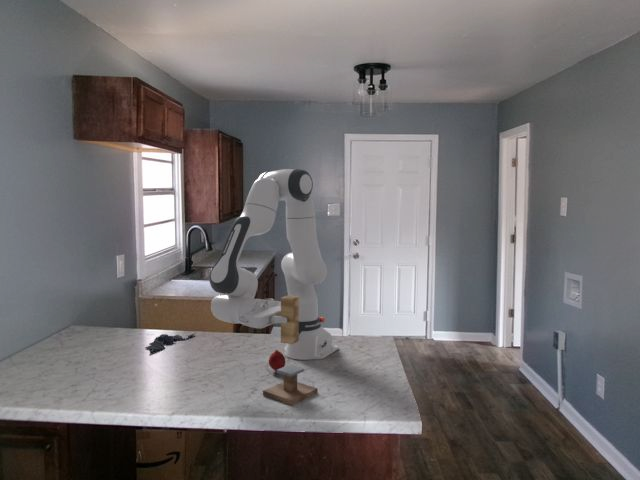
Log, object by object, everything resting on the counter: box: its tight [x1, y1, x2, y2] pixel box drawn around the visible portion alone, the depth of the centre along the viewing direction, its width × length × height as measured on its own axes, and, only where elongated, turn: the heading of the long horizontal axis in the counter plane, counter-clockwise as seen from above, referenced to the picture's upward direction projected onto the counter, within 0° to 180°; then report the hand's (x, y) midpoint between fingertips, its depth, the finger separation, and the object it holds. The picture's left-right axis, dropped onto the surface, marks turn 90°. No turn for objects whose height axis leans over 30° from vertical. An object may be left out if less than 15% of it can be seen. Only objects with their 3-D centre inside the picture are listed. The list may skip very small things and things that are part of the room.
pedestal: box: [262, 364, 319, 406], centre depth 165 cm, size 12×12×8 cm
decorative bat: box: [144, 332, 197, 353], centre depth 217 cm, size 30×4×10 cm
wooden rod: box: [280, 294, 299, 344], centre depth 162 cm, size 4×4×14 cm
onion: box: [268, 348, 286, 373], centre depth 184 cm, size 6×6×8 cm
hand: (292, 318), depth 162 cm, fingers closed on wooden rod, 4 cm apart
